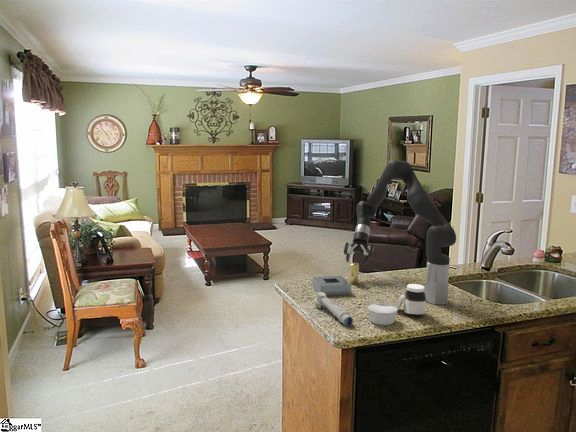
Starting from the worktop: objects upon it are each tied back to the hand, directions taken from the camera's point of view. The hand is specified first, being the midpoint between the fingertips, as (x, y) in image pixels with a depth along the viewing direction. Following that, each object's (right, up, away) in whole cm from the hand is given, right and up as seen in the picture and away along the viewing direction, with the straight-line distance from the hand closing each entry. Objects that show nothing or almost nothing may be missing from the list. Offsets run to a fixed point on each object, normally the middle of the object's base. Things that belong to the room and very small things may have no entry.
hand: (356, 262), depth 235 cm
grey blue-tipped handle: (-16, -17, -44) cm, 50 cm away
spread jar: (+15, -17, -41) cm, 47 cm away
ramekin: (+3, -18, -50) cm, 53 cm away
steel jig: (-14, -11, -14) cm, 23 cm away
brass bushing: (-2, -10, -3) cm, 10 cm away
